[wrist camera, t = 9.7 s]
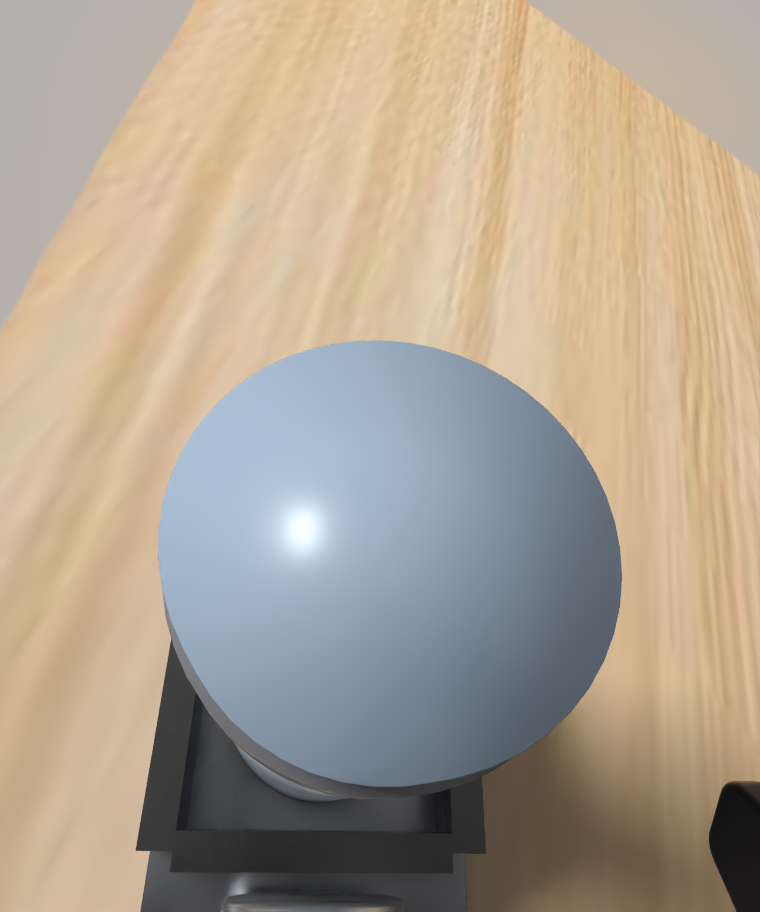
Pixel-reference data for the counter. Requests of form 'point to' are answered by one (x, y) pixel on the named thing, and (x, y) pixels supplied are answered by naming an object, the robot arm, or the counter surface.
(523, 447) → the dome-capped cylinder
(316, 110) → the counter surface
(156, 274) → the counter surface
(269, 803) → the dark grey open box
